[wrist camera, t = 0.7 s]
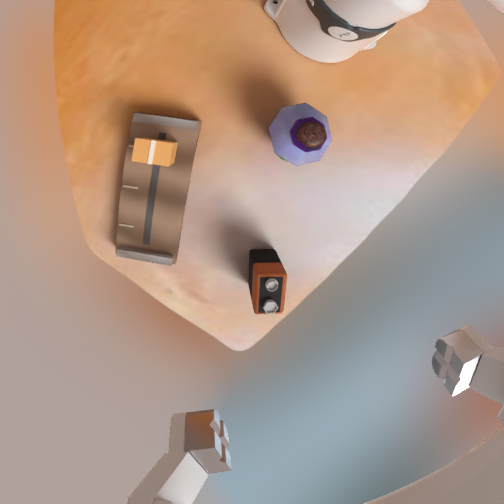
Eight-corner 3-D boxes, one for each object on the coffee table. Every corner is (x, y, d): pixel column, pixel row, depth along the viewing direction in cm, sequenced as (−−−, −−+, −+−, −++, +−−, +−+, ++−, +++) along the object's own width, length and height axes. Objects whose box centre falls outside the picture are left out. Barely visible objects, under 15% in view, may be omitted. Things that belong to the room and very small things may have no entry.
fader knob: (144, 137, 38) (135, 137, 33) (178, 141, 39) (173, 142, 34) (140, 158, 39) (131, 161, 34) (174, 163, 40) (168, 167, 35)
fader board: (136, 112, 39) (131, 111, 36) (201, 121, 40) (200, 120, 37) (119, 249, 46) (113, 256, 43) (177, 259, 48) (174, 267, 45)
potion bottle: (256, 157, 43) (270, 165, 32) (264, 101, 40) (281, 90, 29) (311, 166, 45) (341, 177, 34) (320, 112, 42) (353, 107, 31)
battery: (248, 285, 51) (254, 319, 42) (249, 248, 49) (256, 276, 40) (273, 285, 52) (285, 317, 43) (275, 248, 49) (289, 275, 40)
